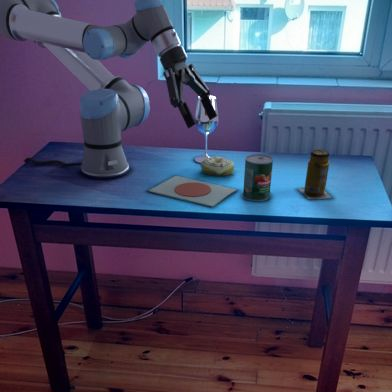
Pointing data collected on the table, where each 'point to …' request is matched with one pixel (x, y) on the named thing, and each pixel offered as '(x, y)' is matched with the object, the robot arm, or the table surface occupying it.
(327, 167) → the condiment
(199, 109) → the wineglass
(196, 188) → the placemat
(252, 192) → the canned tomato
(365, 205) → the table surface
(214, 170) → the decorated donut
